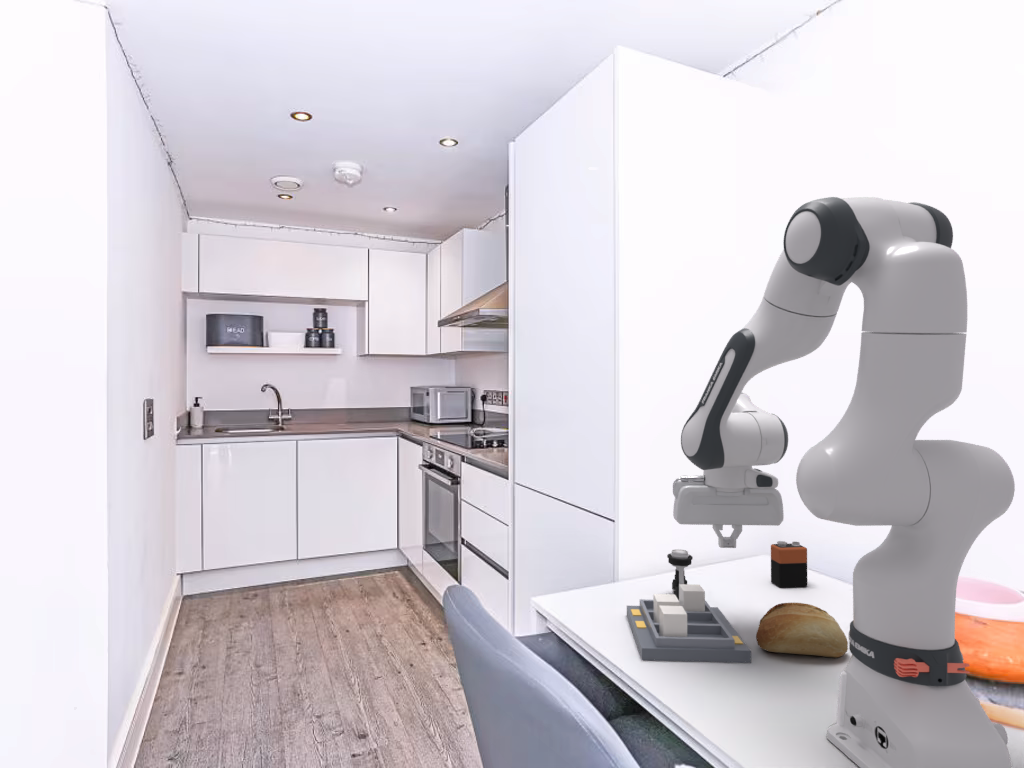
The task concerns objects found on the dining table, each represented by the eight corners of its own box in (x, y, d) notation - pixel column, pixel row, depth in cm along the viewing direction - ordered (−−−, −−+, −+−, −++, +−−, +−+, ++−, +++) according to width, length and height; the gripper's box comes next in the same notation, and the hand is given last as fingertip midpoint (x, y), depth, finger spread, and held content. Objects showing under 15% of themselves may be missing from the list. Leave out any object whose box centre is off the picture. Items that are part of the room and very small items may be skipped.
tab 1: (679, 629, 109) (679, 602, 109) (657, 629, 110) (657, 601, 110) (675, 621, 113) (675, 594, 113) (653, 620, 114) (653, 594, 114)
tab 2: (687, 643, 103) (687, 614, 103) (663, 643, 104) (663, 613, 104) (682, 634, 107) (682, 605, 107) (659, 633, 108) (659, 605, 108)
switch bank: (751, 662, 101) (750, 641, 101) (641, 660, 102) (641, 639, 102) (717, 617, 121) (717, 599, 121) (626, 615, 122) (626, 598, 122)
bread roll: (747, 639, 110) (747, 595, 110) (832, 641, 109) (831, 597, 109) (765, 663, 101) (765, 615, 101) (858, 666, 100) (858, 617, 100)
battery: (770, 582, 142) (769, 540, 142) (797, 581, 143) (797, 539, 143) (780, 588, 138) (779, 544, 138) (808, 587, 138) (808, 544, 138)
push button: (663, 591, 136) (663, 546, 136) (687, 591, 136) (687, 546, 136) (670, 601, 130) (670, 554, 130) (695, 601, 129) (695, 555, 130)
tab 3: (704, 617, 115) (704, 591, 115) (683, 617, 115) (683, 591, 115) (699, 610, 119) (699, 584, 119) (679, 609, 119) (679, 584, 119)
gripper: (676, 478, 114) (676, 551, 115) (787, 479, 113) (786, 552, 113) (669, 472, 121) (669, 541, 121) (774, 473, 119) (774, 543, 120)
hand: (727, 547), depth 117 cm, fingers closed
